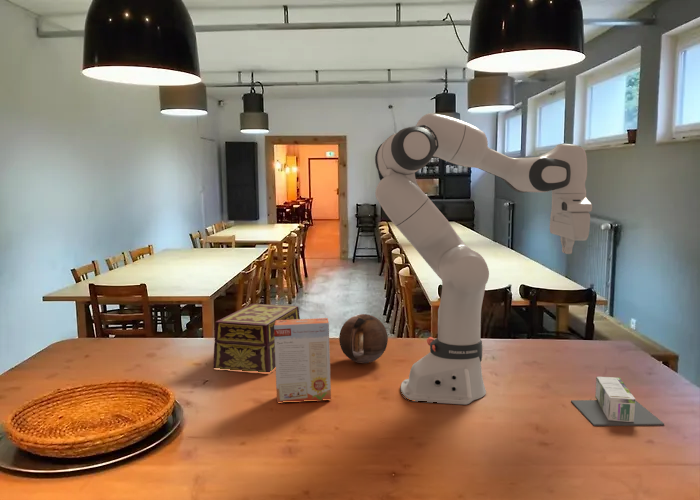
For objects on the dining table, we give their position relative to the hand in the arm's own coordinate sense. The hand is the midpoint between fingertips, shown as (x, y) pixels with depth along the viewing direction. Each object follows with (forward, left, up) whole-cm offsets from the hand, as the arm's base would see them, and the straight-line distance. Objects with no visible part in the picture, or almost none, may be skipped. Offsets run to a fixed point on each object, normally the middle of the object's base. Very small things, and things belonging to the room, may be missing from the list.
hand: (567, 253), depth 160 cm
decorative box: (-90, +18, -36) cm, 98 cm away
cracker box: (-73, -16, -35) cm, 83 cm away
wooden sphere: (-57, +13, -35) cm, 68 cm away
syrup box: (+4, -18, -32) cm, 37 cm away
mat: (+3, -27, -35) cm, 44 cm away
